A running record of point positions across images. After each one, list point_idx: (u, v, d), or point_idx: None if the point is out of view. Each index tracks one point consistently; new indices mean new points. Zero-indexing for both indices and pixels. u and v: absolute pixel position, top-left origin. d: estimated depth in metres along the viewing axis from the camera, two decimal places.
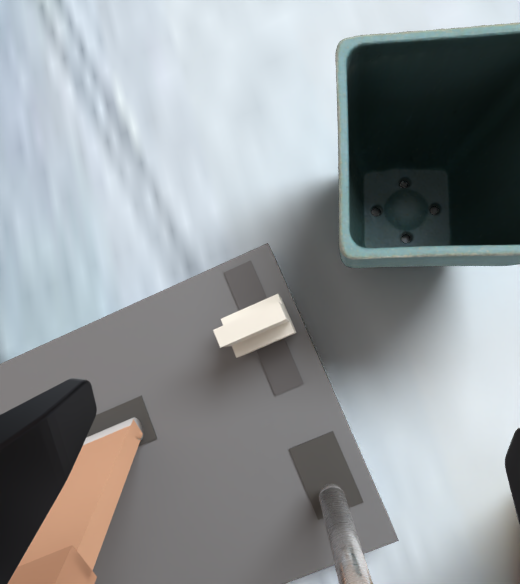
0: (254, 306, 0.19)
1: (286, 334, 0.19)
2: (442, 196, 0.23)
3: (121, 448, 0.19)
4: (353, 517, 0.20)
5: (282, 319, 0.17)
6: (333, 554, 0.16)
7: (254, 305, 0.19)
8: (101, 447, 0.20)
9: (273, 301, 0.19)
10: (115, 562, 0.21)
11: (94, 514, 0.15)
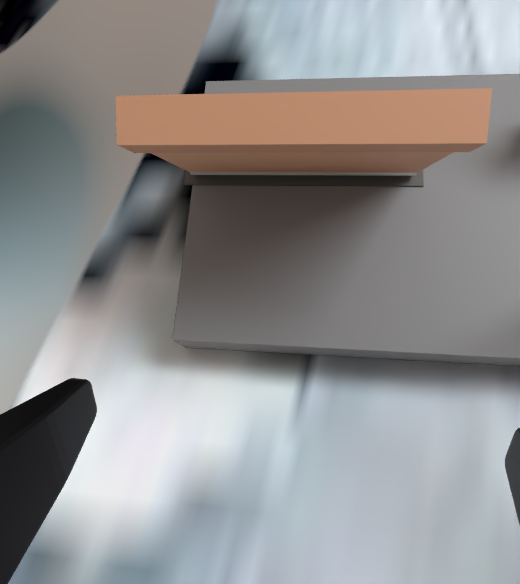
0: None
1: None
2: None
3: None
4: None
5: None
6: None
7: None
8: None
9: None
10: (336, 273, 0.21)
11: None
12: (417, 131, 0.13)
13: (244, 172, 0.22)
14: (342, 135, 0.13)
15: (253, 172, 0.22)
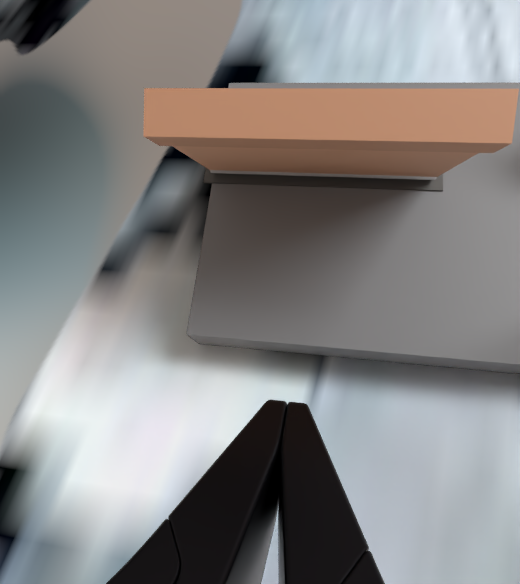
0: None
1: None
2: None
3: None
4: None
5: None
6: None
7: None
8: None
9: None
10: (353, 274, 0.21)
11: None
12: (441, 129, 0.13)
13: (264, 171, 0.22)
14: (366, 132, 0.13)
15: (273, 172, 0.22)
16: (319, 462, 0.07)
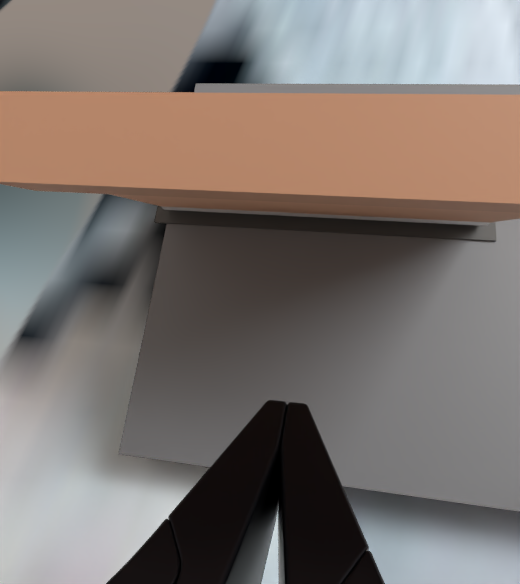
0: None
1: None
2: None
3: None
4: None
5: None
6: None
7: None
8: None
9: None
10: (365, 367, 0.14)
11: None
12: None
13: (237, 210, 0.15)
14: (407, 182, 0.07)
15: (250, 211, 0.15)
16: (319, 462, 0.07)
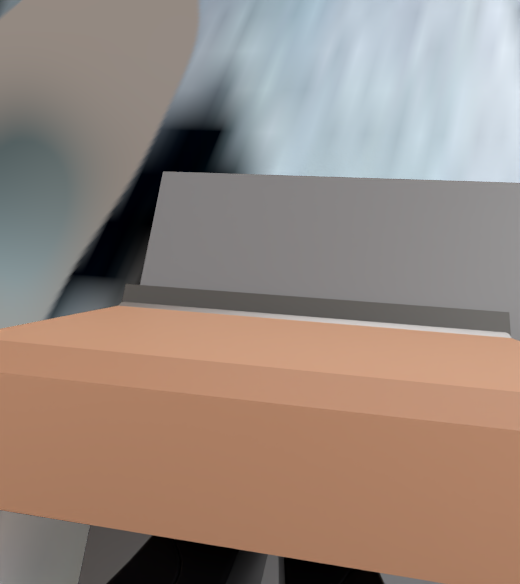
0: None
1: None
2: None
3: None
4: None
5: None
6: None
7: None
8: (475, 340, 0.11)
9: None
10: None
11: None
12: None
13: None
14: (417, 552, 0.04)
15: None
16: None
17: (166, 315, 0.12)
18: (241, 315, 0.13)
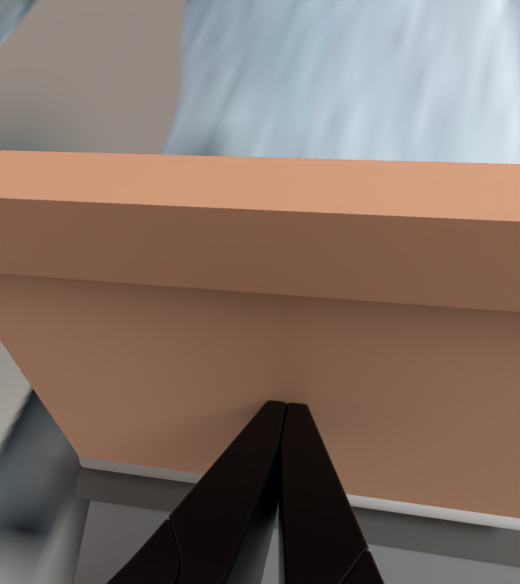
0: None
1: None
2: None
3: None
4: None
5: None
6: None
7: None
8: None
9: None
10: None
11: None
12: None
13: (180, 470, 0.11)
14: (418, 206, 0.05)
15: (197, 473, 0.11)
16: (319, 462, 0.07)
17: None
18: None
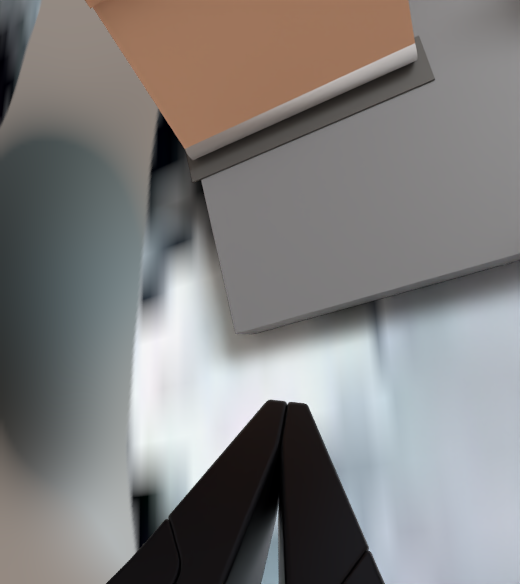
0: None
1: None
2: None
3: None
4: None
5: None
6: None
7: None
8: None
9: None
10: (370, 212, 0.19)
11: None
12: None
13: (235, 124, 0.21)
14: None
15: (243, 121, 0.21)
16: (319, 462, 0.07)
17: None
18: None
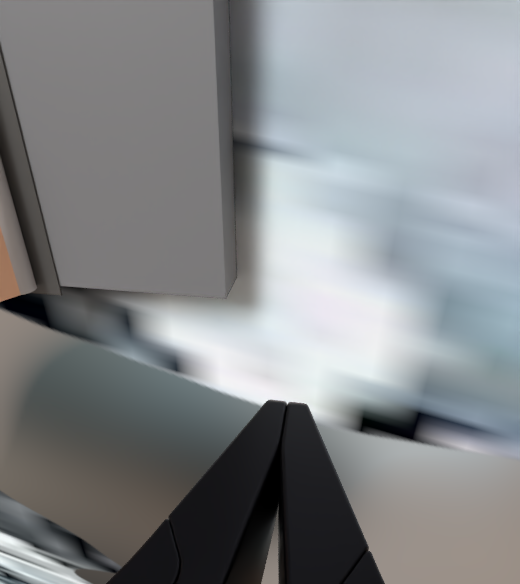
0: None
1: None
2: None
3: None
4: None
5: None
6: None
7: None
8: None
9: None
10: (128, 117, 0.17)
11: None
12: None
13: (1, 236, 0.19)
14: None
15: None
16: (319, 462, 0.07)
17: None
18: None
